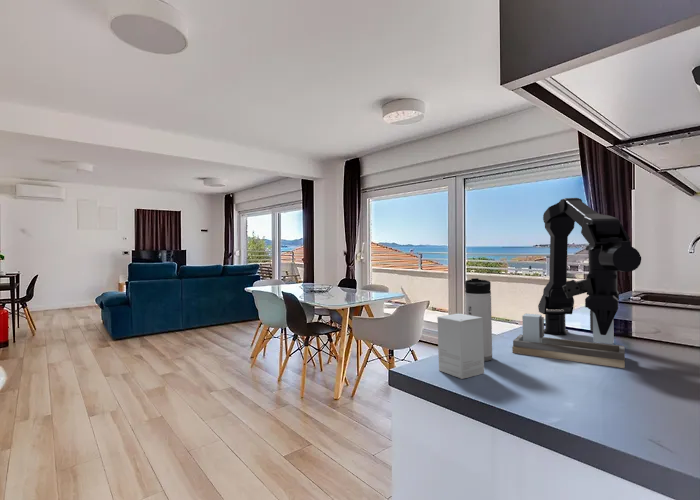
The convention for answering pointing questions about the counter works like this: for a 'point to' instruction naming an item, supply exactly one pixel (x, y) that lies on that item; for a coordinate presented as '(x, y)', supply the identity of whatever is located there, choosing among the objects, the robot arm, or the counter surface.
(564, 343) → the rail
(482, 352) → the supplement box
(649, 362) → the counter surface
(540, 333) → the block
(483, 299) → the travel mug
